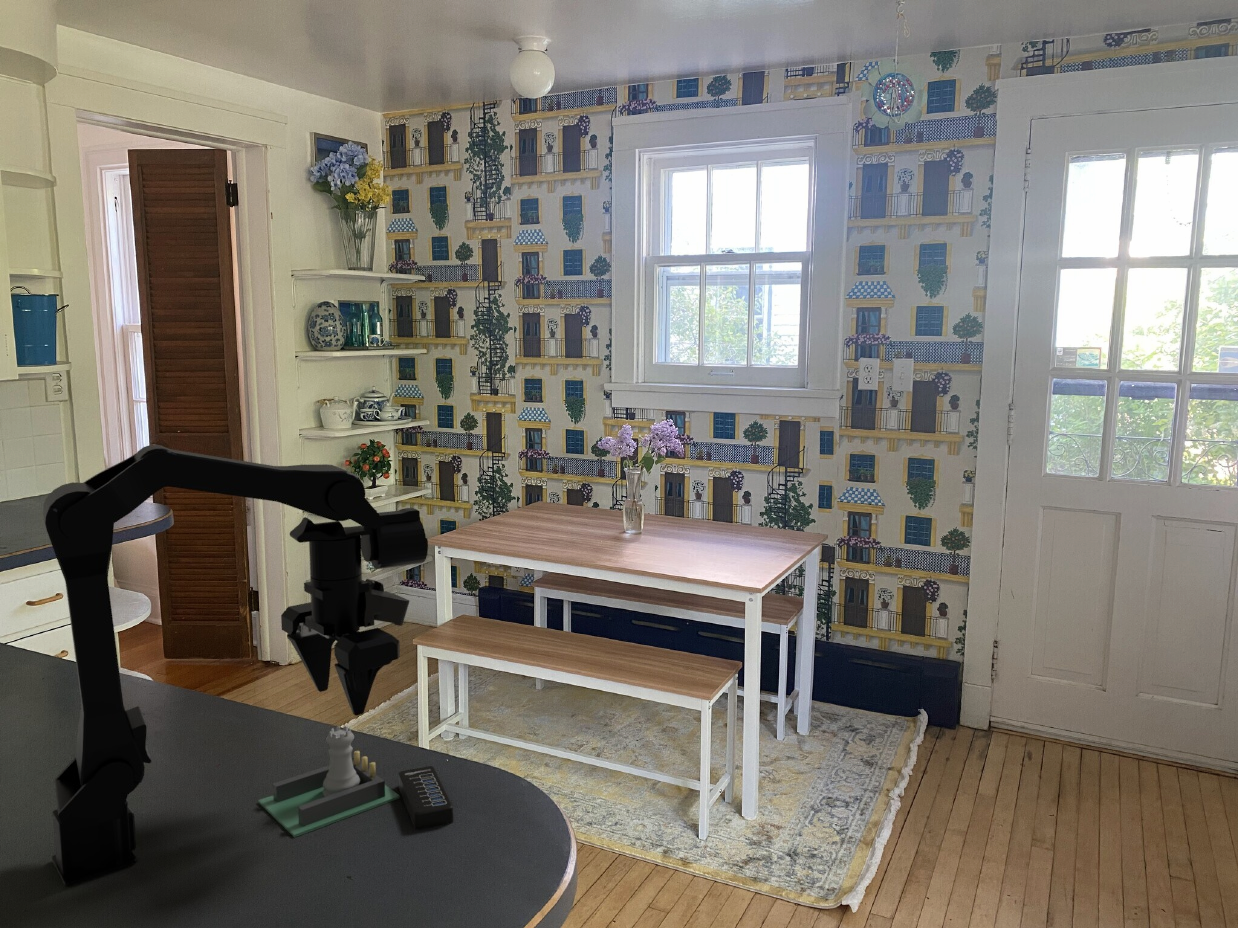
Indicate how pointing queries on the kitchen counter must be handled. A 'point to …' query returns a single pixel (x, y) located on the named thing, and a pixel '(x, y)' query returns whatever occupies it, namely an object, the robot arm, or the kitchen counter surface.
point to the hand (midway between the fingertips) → (340, 702)
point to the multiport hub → (425, 797)
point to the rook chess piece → (340, 762)
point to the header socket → (325, 798)
